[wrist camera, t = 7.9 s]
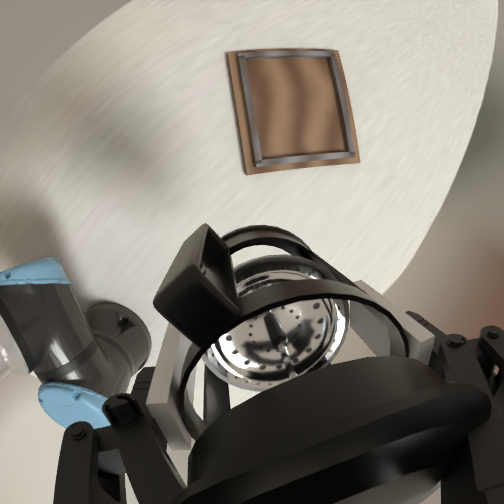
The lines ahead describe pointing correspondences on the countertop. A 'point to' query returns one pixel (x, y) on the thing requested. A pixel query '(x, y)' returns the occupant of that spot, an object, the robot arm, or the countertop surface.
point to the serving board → (292, 109)
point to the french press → (302, 383)
